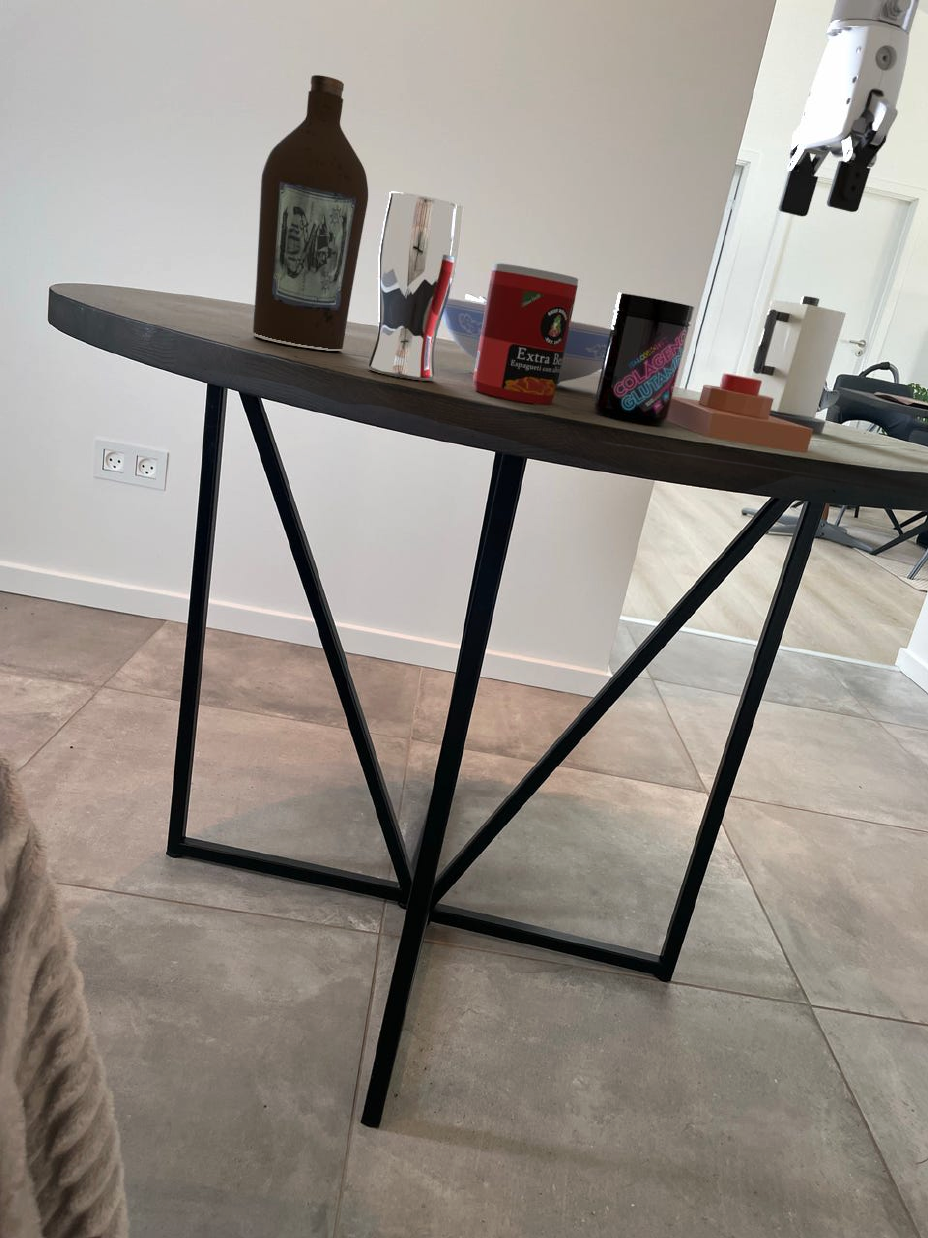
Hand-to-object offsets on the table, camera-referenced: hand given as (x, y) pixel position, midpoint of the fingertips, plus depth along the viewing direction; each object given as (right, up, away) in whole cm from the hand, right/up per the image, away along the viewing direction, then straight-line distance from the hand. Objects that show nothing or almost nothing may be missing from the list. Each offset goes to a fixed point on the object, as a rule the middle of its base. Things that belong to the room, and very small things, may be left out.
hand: (815, 211), depth 95 cm
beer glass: (-42, -20, -10) cm, 48 cm away
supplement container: (-21, -24, -12) cm, 34 cm away
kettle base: (+1, -19, +16) cm, 25 cm away
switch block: (-11, -24, -7) cm, 28 cm away
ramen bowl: (-29, -15, +11) cm, 35 cm away
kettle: (+1, -17, +16) cm, 23 cm away
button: (-11, -21, -8) cm, 25 cm away
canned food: (-32, -22, -10) cm, 40 cm away
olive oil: (-54, -13, +2) cm, 56 cm away
